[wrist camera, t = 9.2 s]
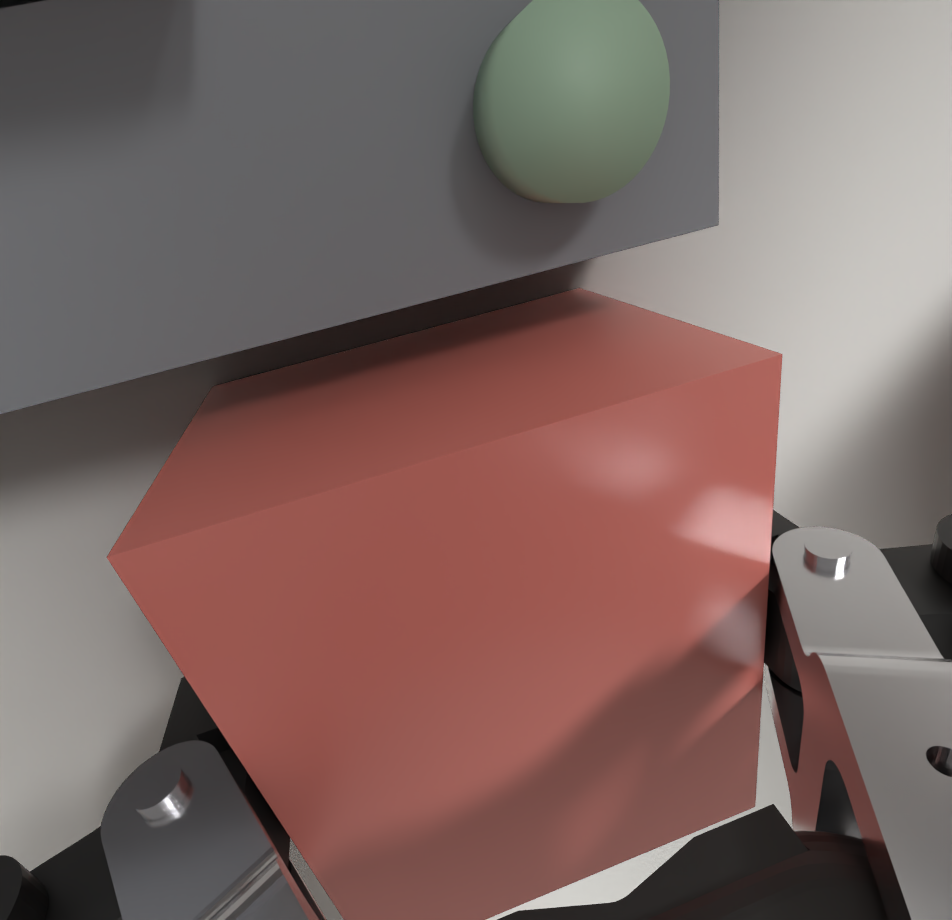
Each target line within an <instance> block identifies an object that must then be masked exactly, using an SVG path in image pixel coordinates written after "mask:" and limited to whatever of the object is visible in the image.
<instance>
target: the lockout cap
mask: <svg viewBox="0 0 952 920" xmlns="http://www.w3.org/2000/svg"><path fill="white" fill-rule="evenodd" d="M781 368H782V354H780V353H777V352H774V351H771V350H768V349H765V348H762V347H759V346H756V345H753V344H750V343H747V342H744V341H741V340H737V339H734V338H731V337H728V336H725V335H722V334H719V333H716V332H713V331H710V330H707V329H704V328H701V327H698V326H695V325H692V324H688V323H685V322H682V321H679V320H676V319H673V318H670V317H667V316H664V315H661V314H658V313H655V312H652V311H649V310H646V309H643V308H640V307H636V306H633V305H630V304H627V303H624V302H621V301H618V300H615V299H612V298H609V297H606V296H603V295H600V294H597V293H594V292H591V291H587V290H584V289H581V288H578V289H574V290H570V291H566V292H563V293H559V294H555V295H551V296H548V297H544V298H540V299H537V300H533V301H529V302H525V303H522V304H518V305H514V306H511V307H507V308H503V309H499V310H496V311H492V312H488V313H484V314H481V315H477V316H473V317H470V318H466V319H462V320H458V321H455V322H451V323H447V324H444V325H440V326H436V327H432V328H429V329H425V330H421V331H417V332H414V333H410V334H406V335H403V336H399V337H395V338H391V339H388V340H384V341H380V342H376V343H373V344H369V345H365V346H362V347H358V348H354V349H350V350H347V351H343V352H339V353H336V354H332V355H328V356H324V357H321V358H317V359H313V360H309V361H306V362H302V363H298V364H295V365H291V366H287V367H283V368H280V369H276V370H272V371H269V372H265V373H261V374H257V375H254V376H250V377H246V378H242V379H239V380H235V381H231V382H228V383H224V384H220V385H216V386H213V387H212V388H211V390H210V391H209V393H208V395H207V396H206V398H205V400H204V401H203V403H202V404H201V406H200V408H199V409H198V411H197V412H196V414H195V416H194V417H193V419H192V420H191V422H190V424H189V425H188V427H187V429H186V430H185V432H184V433H183V435H182V437H181V438H180V440H179V441H178V443H177V445H176V446H175V448H174V450H173V451H172V453H171V454H170V456H169V458H168V459H167V461H166V462H165V464H164V466H163V467H162V469H161V470H160V472H159V474H158V475H157V477H156V479H155V480H154V482H153V483H152V485H151V487H150V488H149V490H148V491H147V493H146V495H145V496H144V498H143V499H142V501H141V503H140V504H139V506H138V508H137V509H136V511H135V512H134V514H133V516H132V517H131V519H130V520H129V522H128V524H127V525H126V527H125V528H124V530H123V532H122V533H121V535H120V537H119V538H118V540H117V541H116V543H115V545H114V546H113V548H112V549H111V551H110V553H109V554H108V556H107V559H108V560H109V562H110V563H111V565H112V566H113V568H114V569H115V571H116V572H117V574H118V575H119V577H120V578H121V580H122V582H123V583H124V585H125V586H126V588H127V589H128V591H129V592H130V594H131V595H132V597H133V598H134V600H135V601H136V603H137V604H138V606H139V607H140V609H141V611H142V612H143V614H144V615H145V617H146V618H147V620H148V621H149V623H150V624H151V626H152V627H153V629H154V630H155V632H156V633H157V635H158V636H159V638H160V639H161V641H162V643H163V644H164V646H165V647H166V649H167V650H168V652H169V653H170V655H171V656H172V658H173V659H174V661H175V662H176V664H177V665H178V667H179V668H180V670H181V672H182V673H183V675H184V676H185V678H186V679H187V681H188V682H189V684H190V685H191V687H192V688H193V690H194V691H195V693H196V694H197V696H198V697H199V699H200V701H201V702H202V704H203V705H204V707H205V708H206V710H207V711H208V713H209V714H210V716H211V717H212V719H213V720H214V722H215V723H216V725H217V726H218V728H219V730H220V731H221V733H222V734H223V736H224V737H225V739H226V740H227V742H228V743H229V745H230V746H231V748H232V749H233V751H234V752H235V754H236V755H237V757H238V758H239V760H240V762H241V763H242V765H243V766H244V768H245V769H246V771H247V772H248V774H249V775H250V777H251V778H252V780H253V781H254V783H255V784H256V786H257V787H258V789H259V791H260V792H261V794H262V795H263V797H264V798H265V800H266V801H267V803H268V804H269V806H270V807H271V809H272V810H273V812H274V813H275V815H276V816H277V818H278V820H279V821H280V823H281V824H282V826H283V827H284V829H285V830H286V832H287V833H288V835H289V836H290V838H291V839H292V841H293V842H294V844H295V845H296V847H297V849H298V850H299V852H300V853H301V855H302V856H303V858H304V859H305V861H306V862H307V864H308V865H309V867H310V868H311V870H312V871H313V873H314V874H315V876H316V877H317V879H318V881H319V882H320V884H321V885H322V887H323V888H324V890H325V891H326V893H327V894H328V896H329V897H330V899H331V900H332V902H333V903H334V905H335V906H336V908H337V910H338V911H339V913H340V914H341V916H342V917H343V919H344V920H485V919H488V918H490V917H492V916H495V915H497V914H500V913H502V912H504V911H507V910H509V909H512V908H514V907H516V906H519V905H521V904H524V903H526V902H528V901H531V900H533V899H536V898H538V897H540V896H543V895H545V894H547V893H550V892H552V891H555V890H557V889H559V888H562V887H564V886H567V885H569V884H571V883H574V882H576V881H579V880H581V879H583V878H586V877H588V876H591V875H593V874H595V873H598V872H600V871H603V870H605V869H607V868H610V867H612V866H614V865H617V864H619V863H622V862H624V861H626V860H629V859H631V858H634V857H636V856H638V855H641V854H643V853H646V852H648V851H650V850H653V849H655V848H658V847H660V846H662V845H665V844H667V843H670V842H672V841H674V840H677V839H679V838H681V837H684V836H686V835H689V834H691V833H693V832H696V831H698V830H701V829H703V828H705V827H708V826H710V825H713V824H715V823H717V822H720V821H722V820H725V819H727V818H729V817H732V816H734V815H736V814H739V813H741V812H744V811H746V810H748V809H751V808H753V807H755V800H756V783H757V767H758V750H759V733H760V717H761V700H762V683H763V667H764V650H765V634H766V617H767V600H768V584H769V567H770V550H771V534H772V517H773V501H774V484H775V467H776V451H777V434H778V417H779V401H780V384H781Z"/></svg>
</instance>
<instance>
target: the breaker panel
mask: <svg viewBox="0 0 952 920" xmlns="http://www.w3.org/2000/svg"><path fill="white" fill-rule="evenodd" d="M718 222H719V0H0V414H3V413H7V412H10V411H14V410H18V409H22V408H26V407H29V406H33V405H37V404H41V403H45V402H48V401H52V400H56V399H60V398H64V397H67V396H71V395H75V394H79V393H83V392H86V391H90V390H94V389H98V388H102V387H105V386H109V385H113V384H117V383H121V382H124V381H128V380H132V379H136V378H140V377H143V376H147V375H151V374H155V373H159V372H162V371H166V370H170V369H174V368H178V367H181V366H185V365H189V364H193V363H197V362H200V361H204V360H208V359H212V358H216V357H219V356H223V355H227V354H231V353H235V352H238V351H242V350H246V349H250V348H254V347H257V346H261V345H265V344H269V343H273V342H276V341H280V340H284V339H288V338H292V337H295V336H299V335H303V334H307V333H311V332H314V331H318V330H322V329H326V328H330V327H333V326H337V325H341V324H345V323H349V322H352V321H356V320H360V319H364V318H368V317H371V316H375V315H379V314H383V313H387V312H390V311H394V310H398V309H402V308H406V307H409V306H413V305H417V304H421V303H425V302H428V301H432V300H436V299H440V298H444V297H447V296H451V295H455V294H459V293H463V292H466V291H470V290H474V289H478V288H482V287H485V286H489V285H493V284H497V283H501V282H504V281H508V280H512V279H516V278H520V277H523V276H527V275H531V274H535V273H539V272H542V271H546V270H550V269H554V268H557V267H561V266H565V265H569V264H573V263H576V262H580V261H584V260H588V259H592V258H595V257H599V256H603V255H607V254H611V253H614V252H618V251H622V250H626V249H630V248H633V247H637V246H641V245H645V244H649V243H652V242H656V241H660V240H664V239H668V238H671V237H675V236H679V235H683V234H687V233H690V232H694V231H698V230H702V229H706V228H709V227H713V226H717V225H718Z"/></svg>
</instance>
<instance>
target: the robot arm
mask: <svg viewBox="0 0 952 920" xmlns="http://www.w3.org/2000/svg"><path fill="white" fill-rule="evenodd" d="M764 663H765V676H764V677H765V684H766V688H767V693H768V697H769V702H770V706H771V710H772V715H773V719H774V724H775V728H776V732H777V737H778V741H779V746H780V750H781V754H782V759H783V763H784V768H785V772H786V776H787V781H788V786H789V791H790V798H791V807H792V824H793V829H792V828H791V827H790V825H789V824H788V823H787V821H786V820H785V819H784V817H783V816H782V815H781V813H780V812H779V811H778V809H777V808H776V807H775V805H774V804H772V805H770V806H767V807H765V808H763V809H760V810H758V811H755V812H753V813H751V814H748V815H746V816H744V817H741V818H739V819H736V820H734V821H732V822H729V823H727V824H724V825H722V826H720V827H717V828H715V829H713V830H710V831H708V832H705V833H703V834H701V835H698V836H696V837H694V838H693V839H691V840H690V841H689V842H688V843H687V844H686V845H685V846H683V847H682V848H681V849H680V850H679V851H678V852H677V853H675V854H674V855H673V856H672V857H671V858H670V859H669V860H667V861H666V862H665V863H664V864H663V865H662V866H661V867H660V868H658V869H657V870H656V871H655V872H654V873H653V874H652V875H650V876H649V877H648V878H647V879H646V880H645V881H644V882H642V883H641V884H640V885H639V886H638V887H637V888H636V889H634V890H633V891H632V892H631V893H630V894H629V895H627V896H626V897H625V898H623V899H621V900H619V901H617V902H612V903H604V904H592V905H581V906H569V907H557V908H546V909H534V910H523V911H517V912H514V913H512V914H510V915H507V916H505V917H502V918H500V919H498V920H952V514H951V515H948V516H946V517H945V518H943V519H942V520H941V521H940V522H939V524H938V526H937V529H936V533H935V538H934V542H933V544H932V545H921V546H910V547H899V548H888V549H878V548H877V547H876V546H875V545H874V544H872V543H871V542H869V541H868V540H866V539H864V538H862V537H861V536H858V535H856V534H853V533H851V532H848V531H844V530H840V529H835V528H829V527H815V526H814V527H802V528H799V527H798V526H796V525H795V524H793V523H792V522H790V521H789V520H787V519H786V518H784V517H783V516H781V515H780V514H779V513H777V512H776V511H774V510H773V517H772V534H771V550H770V567H769V584H768V600H767V617H766V634H765V650H764ZM289 848H290V836H289V835H288V833H287V832H286V830H285V829H284V827H283V826H282V824H281V823H280V821H279V820H278V818H277V816H276V815H275V813H274V812H273V810H272V809H271V807H270V806H269V804H268V803H267V801H266V800H265V798H264V797H263V795H262V794H261V792H260V791H259V789H258V787H257V786H256V784H255V783H254V781H253V780H252V778H251V777H250V775H249V774H248V772H247V771H246V769H245V768H244V766H243V765H242V763H241V762H240V760H239V758H238V757H237V755H236V754H235V752H234V751H233V749H232V748H231V746H230V745H229V743H228V742H227V740H226V739H225V737H224V736H223V734H222V733H221V731H220V730H219V728H218V726H217V725H216V723H215V722H214V720H213V719H212V717H211V716H210V714H209V713H208V711H207V710H206V708H205V707H204V705H203V704H202V702H201V701H200V699H199V697H198V696H197V694H196V693H195V691H194V690H193V688H192V687H191V685H190V684H189V682H188V681H187V679H186V678H185V676H184V677H183V678H181V682H180V685H179V688H178V691H177V695H176V698H175V701H174V705H173V708H172V711H171V714H170V718H169V721H168V724H167V728H166V731H165V734H164V737H163V741H162V744H161V747H160V751H159V752H158V753H157V754H155V755H154V756H152V757H151V758H149V759H148V760H147V761H145V762H144V763H143V764H141V765H140V766H139V767H138V768H137V769H136V770H135V771H134V772H133V773H132V774H130V776H129V777H128V778H127V779H126V780H125V781H124V782H123V783H122V785H121V786H120V787H119V789H118V790H117V791H116V793H115V794H114V796H113V797H112V799H111V801H110V802H109V804H108V806H107V809H106V811H105V813H104V816H103V820H102V823H101V826H100V827H99V828H98V829H96V830H95V831H93V832H92V833H90V834H89V835H87V836H85V837H84V838H82V839H81V840H79V841H78V842H76V843H74V844H73V845H71V846H70V847H68V848H66V849H65V850H63V851H62V852H60V853H59V854H57V855H55V856H54V857H52V858H51V859H49V860H47V861H46V862H44V863H43V864H41V865H40V866H38V867H36V868H35V869H33V870H32V871H30V872H29V871H28V870H27V869H26V868H25V867H23V866H22V865H21V864H20V863H19V862H18V861H17V860H15V859H14V858H13V857H9V856H0V920H327V919H326V918H325V916H324V914H323V913H322V911H321V909H320V907H319V906H318V904H317V902H316V901H315V899H314V897H313V896H312V894H311V892H310V890H309V889H308V887H307V885H306V884H305V882H304V880H303V879H302V877H301V875H300V873H299V872H298V870H297V868H296V867H295V865H294V863H293V862H292V860H291V859H290V857H289Z"/></svg>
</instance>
